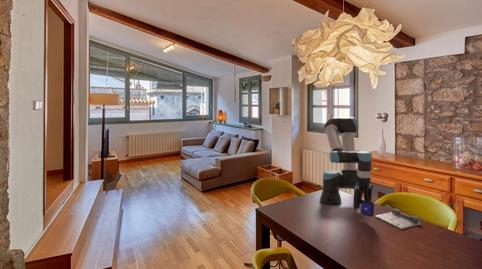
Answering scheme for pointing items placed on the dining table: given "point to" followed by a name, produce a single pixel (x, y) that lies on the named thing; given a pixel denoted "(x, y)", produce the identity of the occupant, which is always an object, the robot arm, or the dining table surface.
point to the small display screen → (366, 207)
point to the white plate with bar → (399, 219)
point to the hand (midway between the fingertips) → (361, 212)
